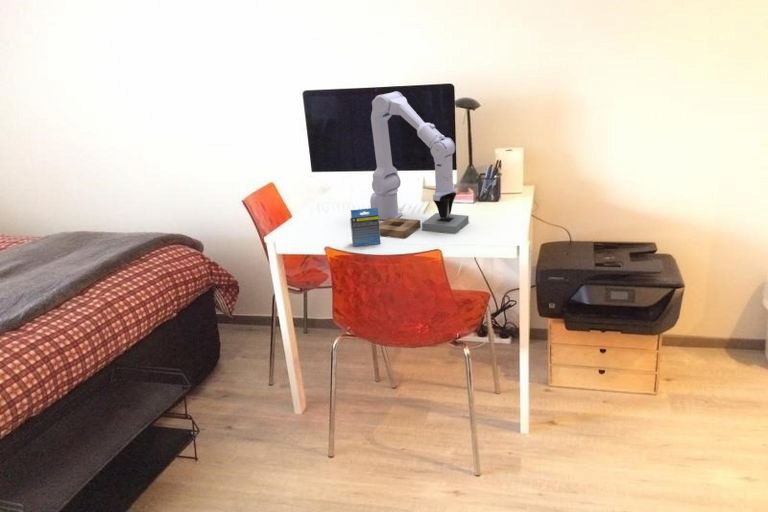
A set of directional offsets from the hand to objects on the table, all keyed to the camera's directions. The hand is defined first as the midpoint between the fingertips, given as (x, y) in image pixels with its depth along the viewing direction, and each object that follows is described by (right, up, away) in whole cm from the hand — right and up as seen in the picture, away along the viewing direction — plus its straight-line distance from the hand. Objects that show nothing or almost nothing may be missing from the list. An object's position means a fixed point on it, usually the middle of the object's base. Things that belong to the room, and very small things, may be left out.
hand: (445, 215), depth 205 cm
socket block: (-16, -5, +1) cm, 17 cm away
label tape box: (-26, -10, -9) cm, 30 cm away
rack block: (0, -4, +1) cm, 4 cm away
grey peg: (0, -3, +1) cm, 3 cm away
